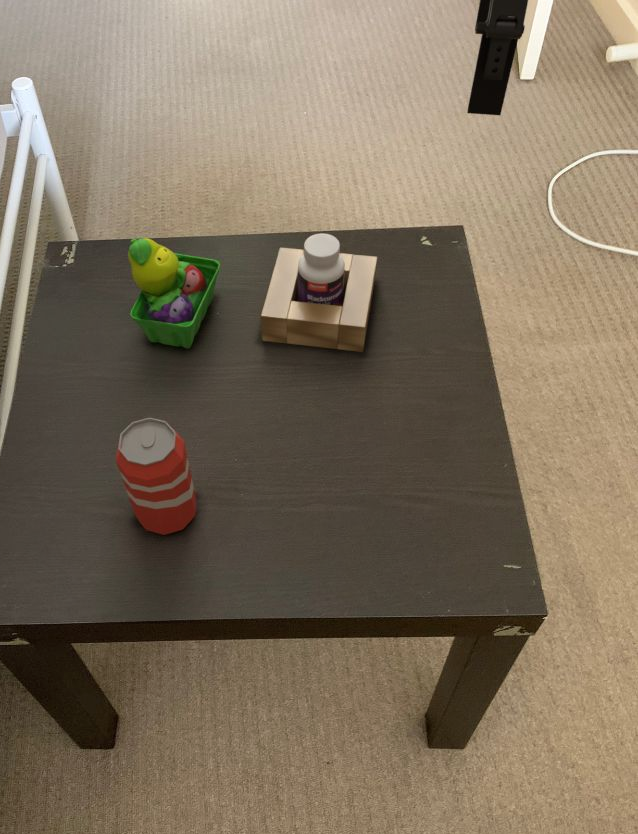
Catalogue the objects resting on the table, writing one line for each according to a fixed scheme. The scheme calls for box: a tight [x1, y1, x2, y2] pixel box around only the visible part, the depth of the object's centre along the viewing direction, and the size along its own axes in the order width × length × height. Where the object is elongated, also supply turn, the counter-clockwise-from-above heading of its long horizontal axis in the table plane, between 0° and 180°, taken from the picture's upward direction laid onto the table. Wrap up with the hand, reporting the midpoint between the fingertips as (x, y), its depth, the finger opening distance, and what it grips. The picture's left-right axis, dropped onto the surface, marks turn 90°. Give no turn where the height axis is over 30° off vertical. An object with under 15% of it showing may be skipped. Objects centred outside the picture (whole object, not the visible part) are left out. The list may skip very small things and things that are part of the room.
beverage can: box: [115, 417, 197, 536], centre depth 72 cm, size 6×6×12 cm
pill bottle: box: [297, 233, 345, 307], centre depth 87 cm, size 5×5×10 cm
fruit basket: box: [127, 237, 221, 349], centre depth 87 cm, size 11×9×11 cm
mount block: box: [260, 247, 378, 353], centre depth 90 cm, size 12×12×4 cm
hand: (486, 69), depth 66 cm, fingers open, 13 cm apart
